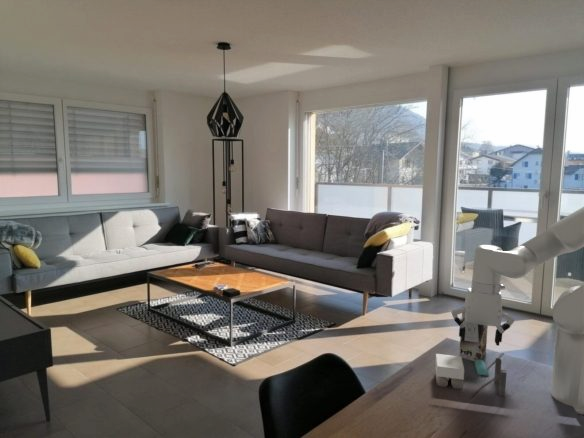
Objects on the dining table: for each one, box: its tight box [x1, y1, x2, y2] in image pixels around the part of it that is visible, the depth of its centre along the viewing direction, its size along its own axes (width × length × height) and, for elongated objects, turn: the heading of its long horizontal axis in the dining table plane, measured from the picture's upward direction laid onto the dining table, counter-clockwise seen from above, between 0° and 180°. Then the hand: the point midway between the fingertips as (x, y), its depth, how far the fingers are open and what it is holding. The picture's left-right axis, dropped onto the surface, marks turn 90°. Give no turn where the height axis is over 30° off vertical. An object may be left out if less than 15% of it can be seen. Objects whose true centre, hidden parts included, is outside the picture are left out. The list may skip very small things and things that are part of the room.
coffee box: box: [458, 313, 489, 362], centre depth 139 cm, size 9×6×16 cm
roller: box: [474, 359, 490, 377], centre depth 130 cm, size 7×3×3 cm, turn 164°
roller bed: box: [434, 357, 507, 397], centre depth 122 cm, size 18×9×8 cm, turn 74°
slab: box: [434, 353, 465, 381], centre depth 123 cm, size 7×8×3 cm
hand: (479, 341), depth 130 cm, fingers open, 9 cm apart
